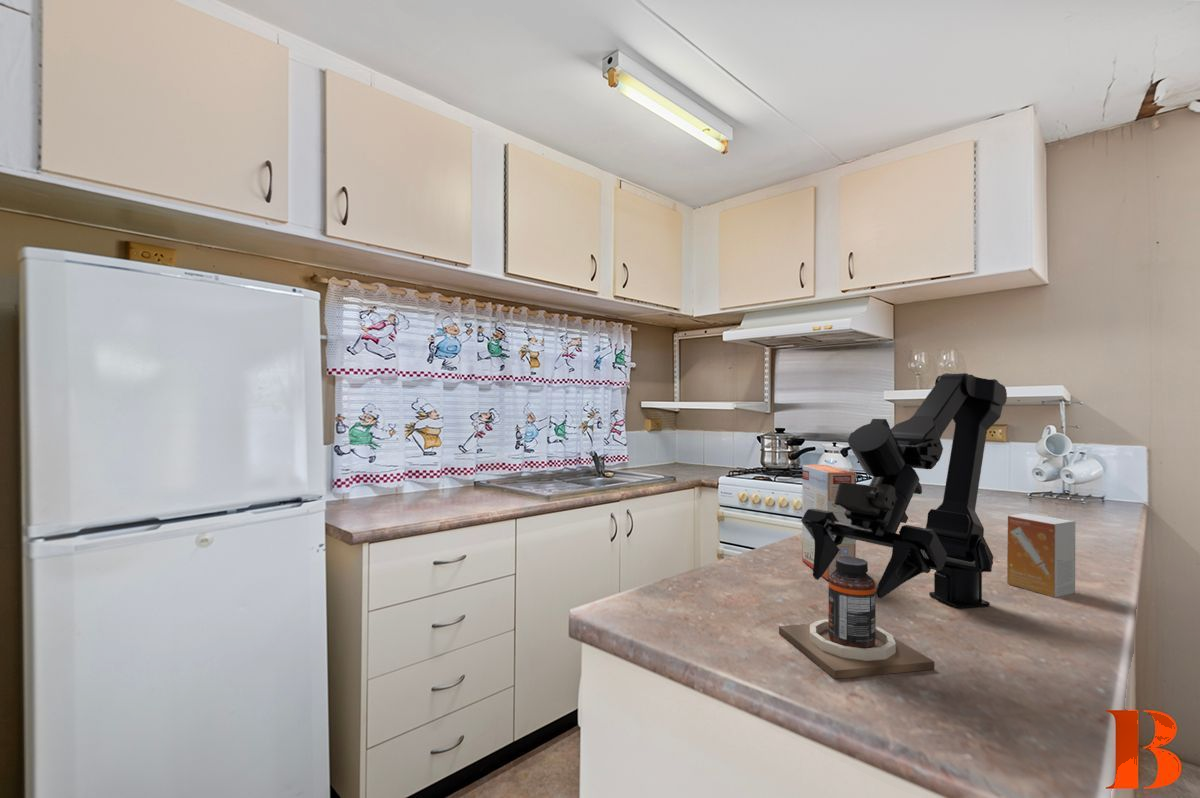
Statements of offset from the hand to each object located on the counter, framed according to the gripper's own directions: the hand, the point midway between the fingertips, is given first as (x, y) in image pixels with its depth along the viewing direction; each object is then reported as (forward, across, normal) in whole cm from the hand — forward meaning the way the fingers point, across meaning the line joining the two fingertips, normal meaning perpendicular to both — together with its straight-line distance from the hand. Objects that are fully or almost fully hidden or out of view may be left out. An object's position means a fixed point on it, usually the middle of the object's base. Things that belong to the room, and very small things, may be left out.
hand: (845, 586), depth 77 cm
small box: (-32, +6, +45) cm, 55 cm away
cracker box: (-16, -23, +29) cm, 41 cm away
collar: (+5, 0, +7) cm, 9 cm away
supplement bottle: (+5, 0, +7) cm, 8 cm away
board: (+5, 0, +7) cm, 9 cm away
